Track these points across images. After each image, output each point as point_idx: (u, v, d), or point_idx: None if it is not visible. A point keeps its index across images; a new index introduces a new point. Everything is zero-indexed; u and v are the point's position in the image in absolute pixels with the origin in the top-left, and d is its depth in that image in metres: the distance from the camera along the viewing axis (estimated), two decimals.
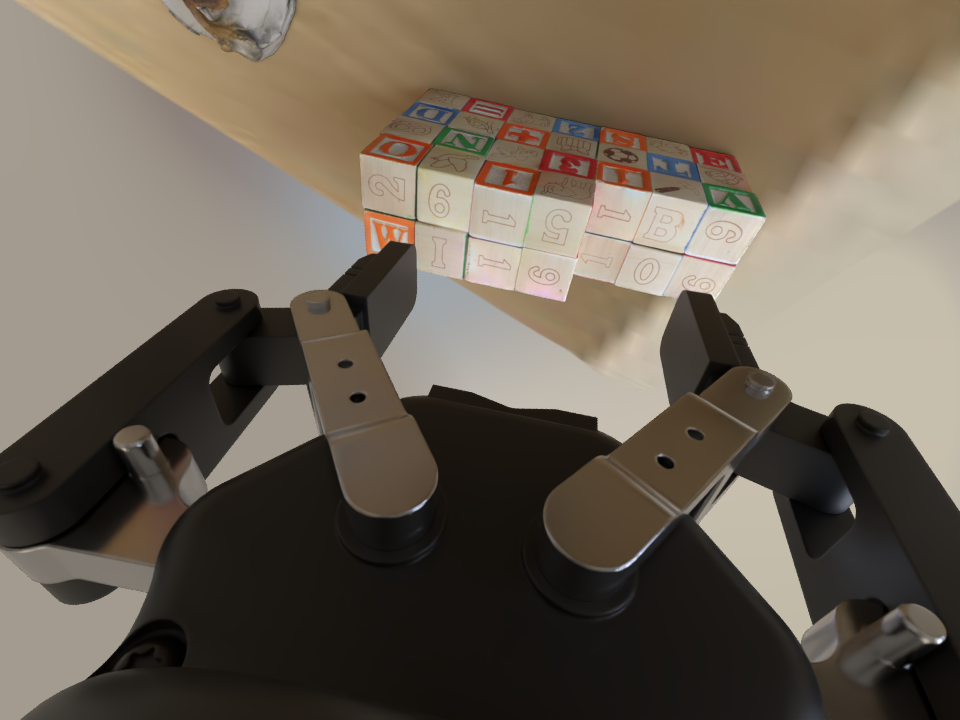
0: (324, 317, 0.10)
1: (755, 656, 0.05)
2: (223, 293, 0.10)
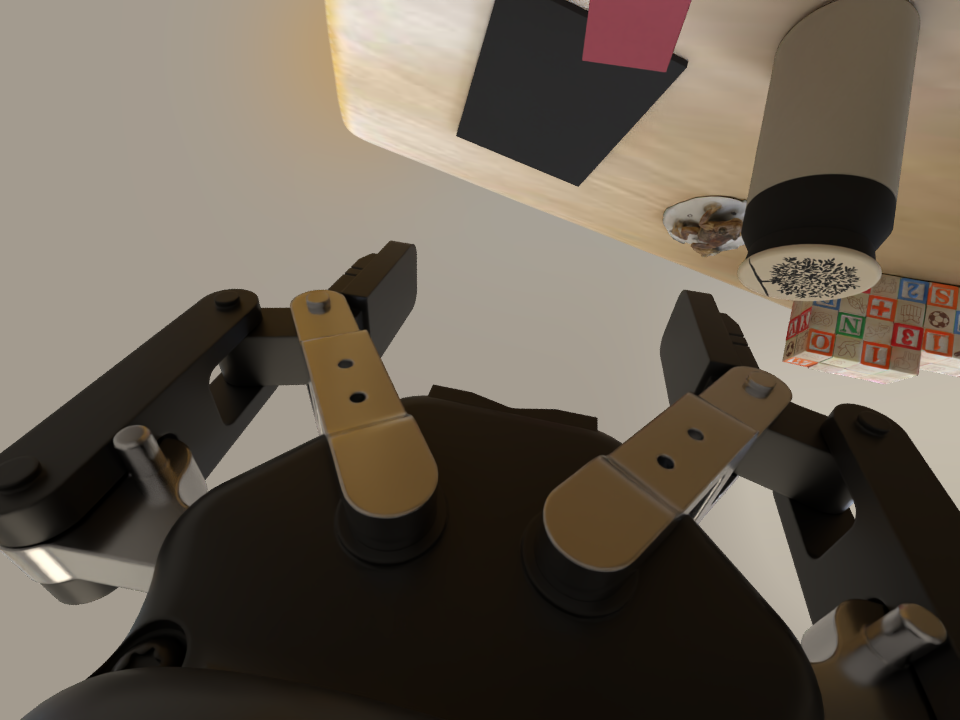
0: (324, 317, 0.10)
1: (755, 656, 0.05)
2: (222, 293, 0.10)
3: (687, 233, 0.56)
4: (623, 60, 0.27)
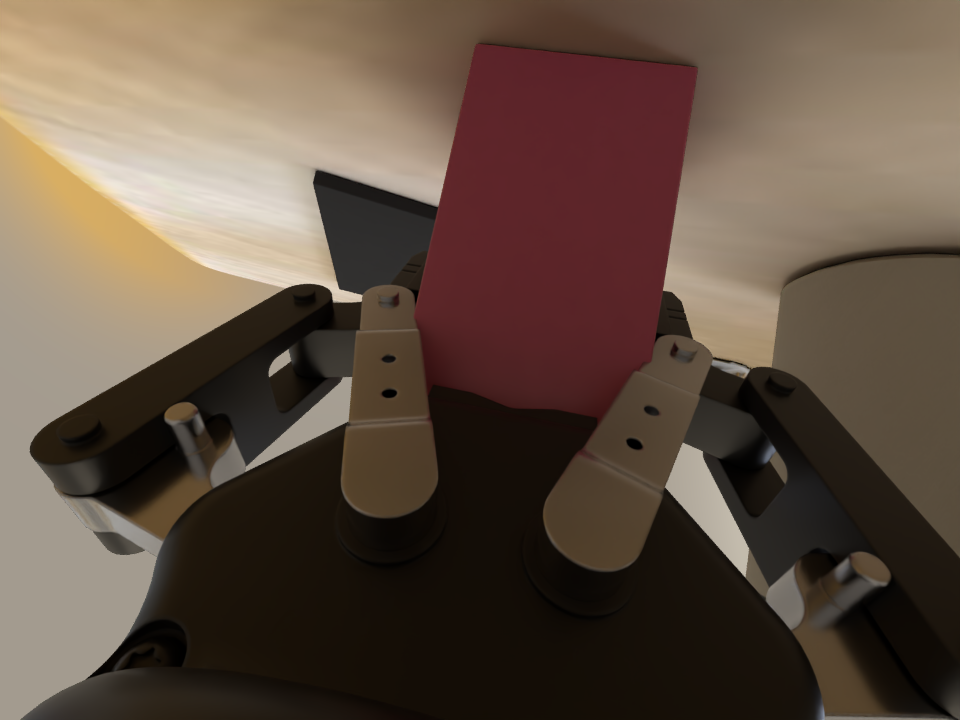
0: (389, 311, 0.10)
1: (753, 649, 0.05)
2: (301, 287, 0.10)
3: None
4: None
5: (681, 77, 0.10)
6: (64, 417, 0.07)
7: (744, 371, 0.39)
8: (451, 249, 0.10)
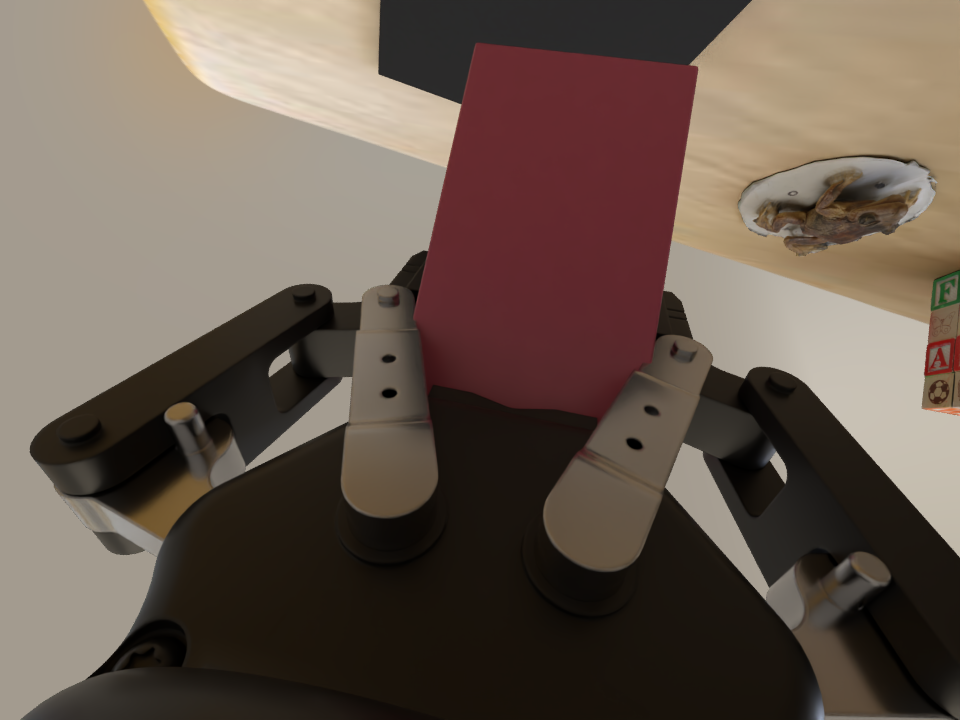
0: (389, 311, 0.10)
1: (753, 649, 0.05)
2: (301, 287, 0.10)
3: (785, 223, 0.34)
4: None
5: (681, 76, 0.10)
6: (63, 417, 0.07)
7: (919, 185, 0.29)
8: (451, 248, 0.10)
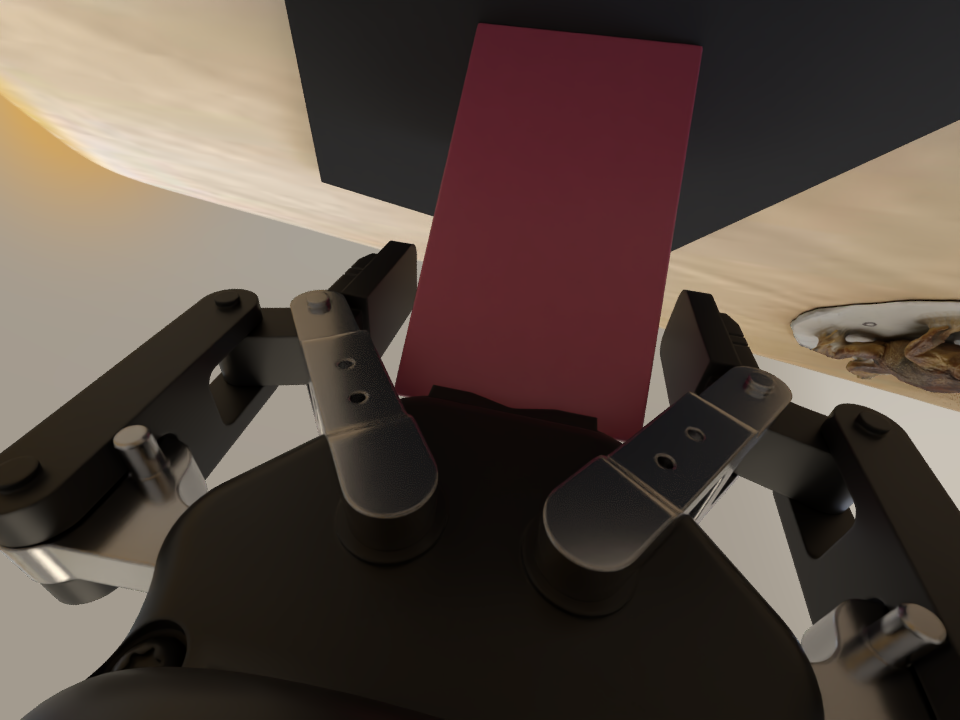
0: (324, 317, 0.10)
1: (754, 656, 0.05)
2: (223, 293, 0.10)
3: None
4: None
5: (685, 55, 0.10)
6: None
7: None
8: (453, 228, 0.10)
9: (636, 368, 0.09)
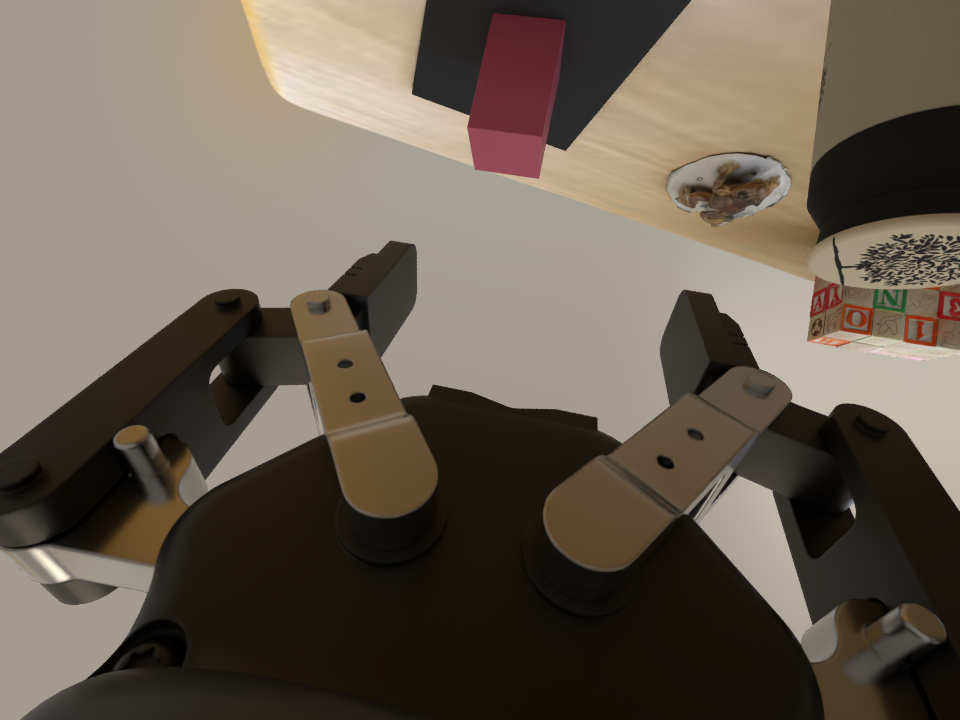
0: (324, 316, 0.10)
1: (754, 656, 0.05)
2: (222, 293, 0.10)
3: (696, 200, 0.47)
4: (505, 171, 0.35)
5: (559, 23, 0.31)
6: None
7: (779, 173, 0.43)
8: (485, 78, 0.31)
9: (541, 116, 0.30)
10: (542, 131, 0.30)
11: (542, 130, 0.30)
